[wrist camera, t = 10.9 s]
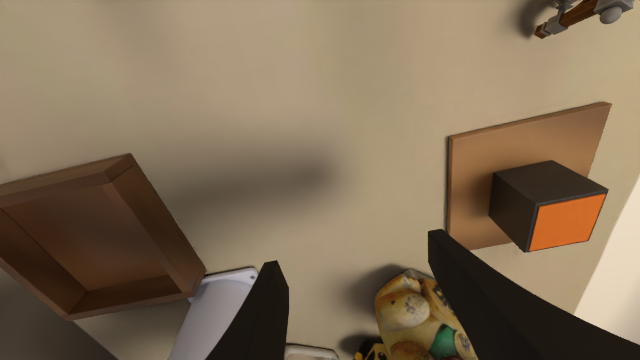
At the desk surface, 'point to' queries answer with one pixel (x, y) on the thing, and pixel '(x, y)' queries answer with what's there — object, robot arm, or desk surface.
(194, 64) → the desk surface
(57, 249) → the walnut box
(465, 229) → the cork mat
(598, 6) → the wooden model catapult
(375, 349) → the toy
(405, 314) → the decorative figurine
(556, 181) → the puzzle cube
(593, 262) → the desk surface
